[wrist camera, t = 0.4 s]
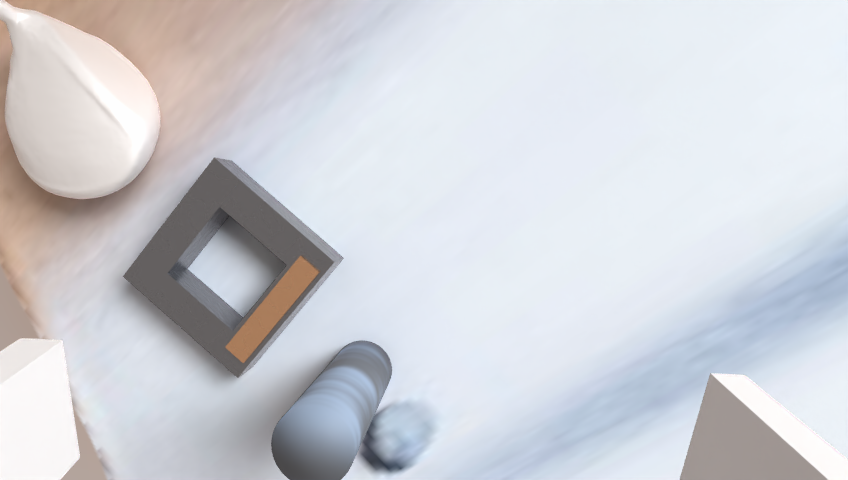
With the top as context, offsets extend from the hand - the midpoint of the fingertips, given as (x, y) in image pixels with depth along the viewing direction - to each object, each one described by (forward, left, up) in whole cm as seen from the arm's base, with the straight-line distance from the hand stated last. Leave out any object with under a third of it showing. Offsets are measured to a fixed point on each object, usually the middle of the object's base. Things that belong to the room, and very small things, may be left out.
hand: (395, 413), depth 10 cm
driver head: (-6, -29, -26) cm, 39 cm away
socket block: (+3, -16, -26) cm, 31 cm away
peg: (+9, -5, -26) cm, 28 cm away
